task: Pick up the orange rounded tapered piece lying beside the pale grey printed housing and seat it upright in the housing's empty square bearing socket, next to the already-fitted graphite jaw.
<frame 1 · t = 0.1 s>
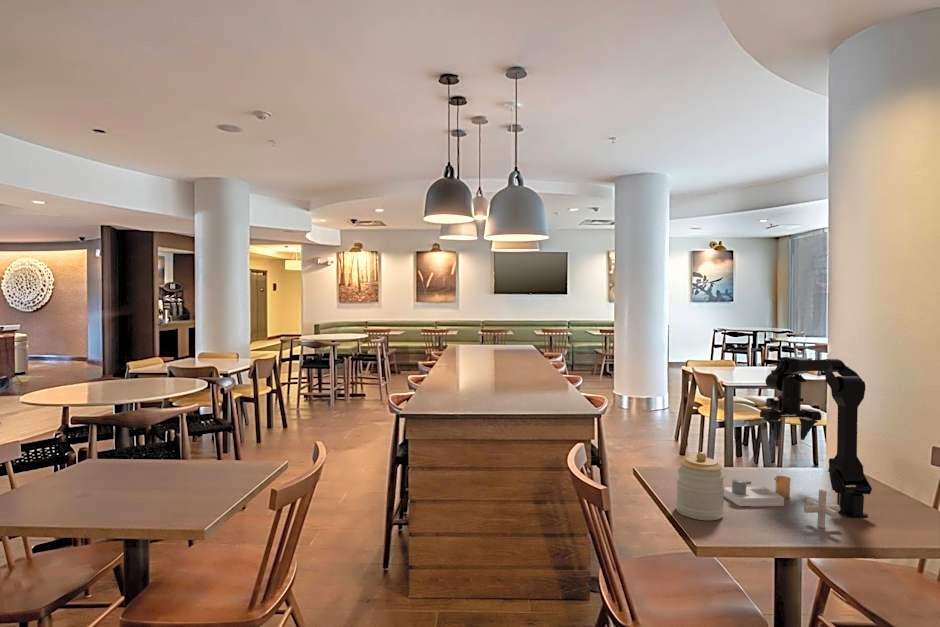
hand: (789, 439, 203), 15 cm above the table, fingers open, 9 cm apart
jar: (699, 513, 173), on the table
pipe connector: (821, 527, 165), on the table
orange rounded tapered piece: (782, 496, 189), on the table
housing: (752, 500, 185), on the table
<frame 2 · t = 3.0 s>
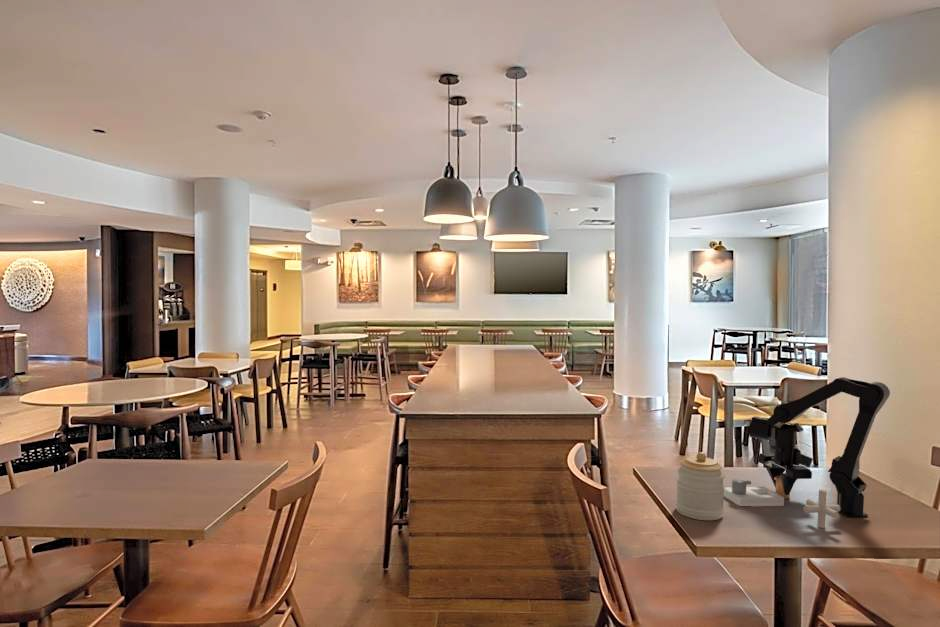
hand: (782, 492, 189), 1 cm above the table, fingers closed on orange rounded tapered piece, 4 cm apart
orange rounded tapered piece: (782, 496, 189), on the table, touching gripper
everything else where it was.
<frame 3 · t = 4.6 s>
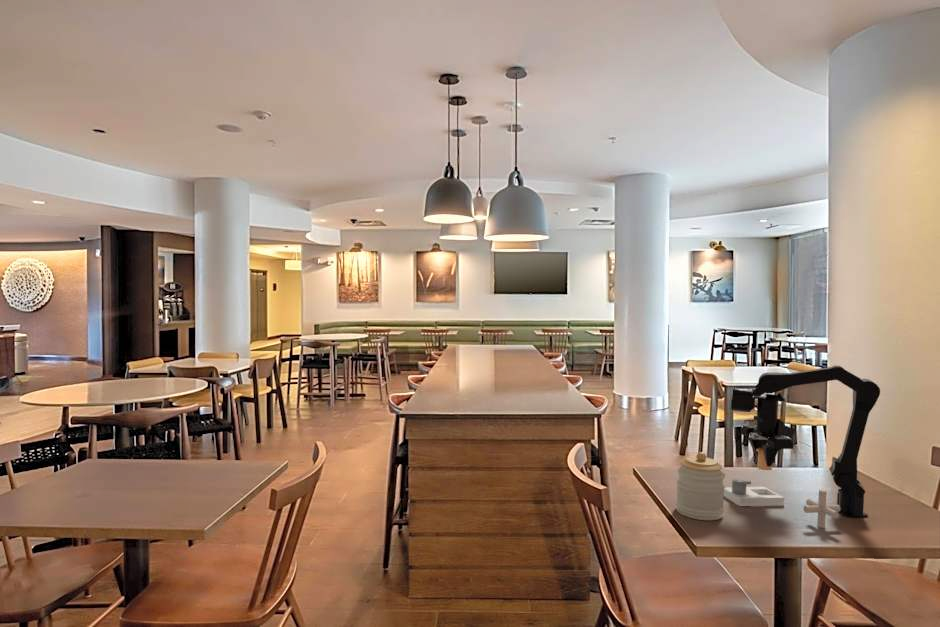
hand: (764, 464, 185), 11 cm above the table, fingers closed on orange rounded tapered piece, 4 cm apart
orange rounded tapered piece: (764, 468, 185), point 10 cm above the table, touching gripper
everything else where it was.
when the fingers open (4 cm above the table, at t = 6.6 s): orange rounded tapered piece drops 2 cm, resting on housing.
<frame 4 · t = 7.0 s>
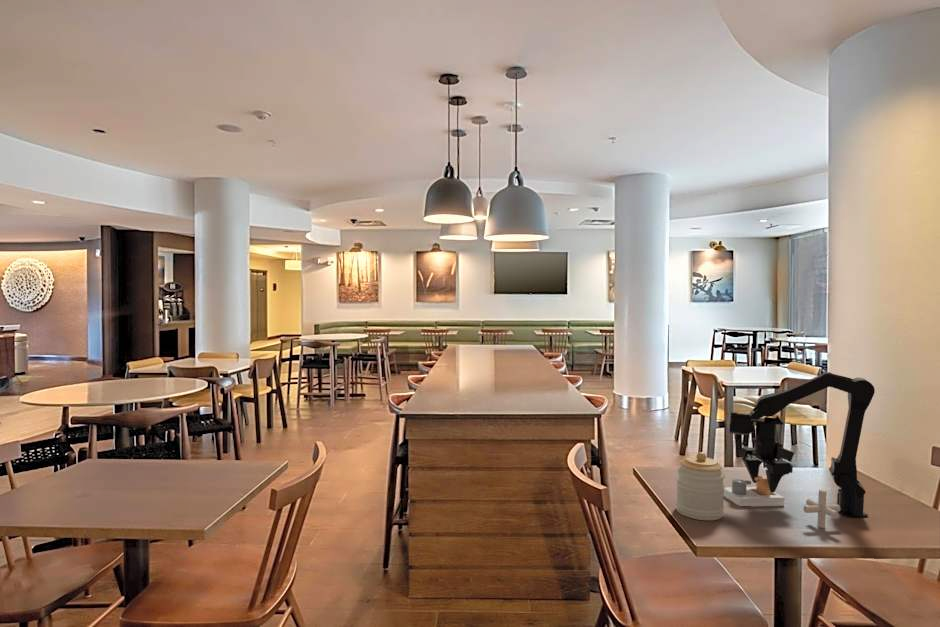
hand: (763, 487, 185), 4 cm above the table, fingers open, 9 cm apart
orange rounded tapered piece: (763, 496, 185), point 1 cm above the table, touching housing
everything else where it was.
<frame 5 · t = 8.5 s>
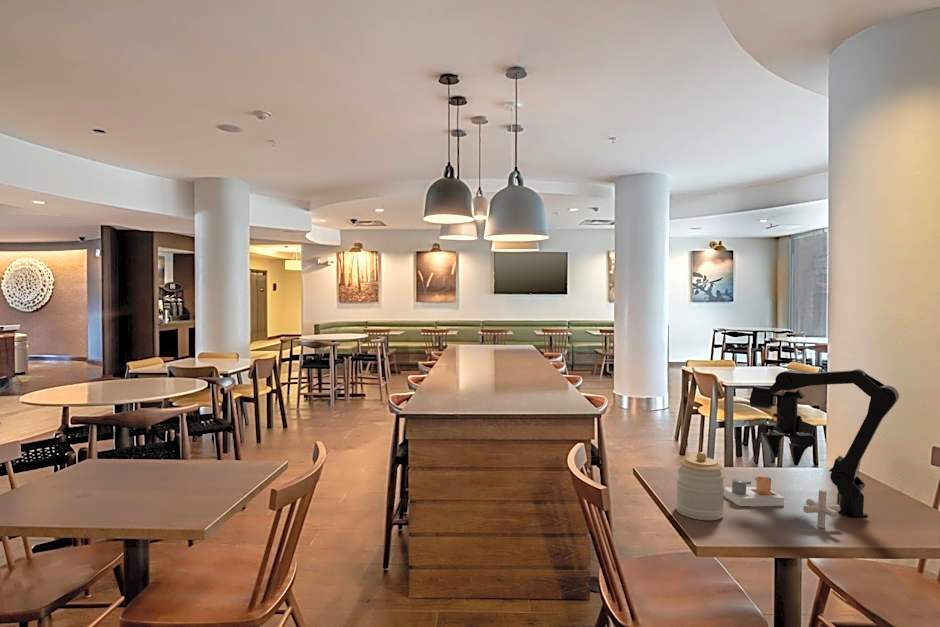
hand: (785, 461, 187), 12 cm above the table, fingers open, 9 cm apart
nothing on the table moved.
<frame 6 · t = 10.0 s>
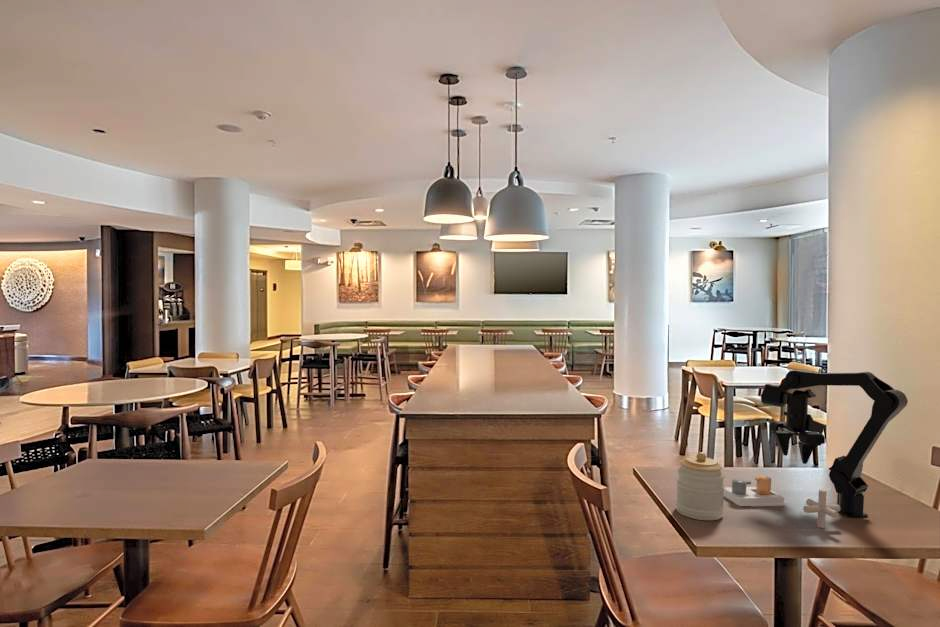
hand: (794, 459, 188), 12 cm above the table, fingers open, 9 cm apart
nothing on the table moved.
at the end: orange rounded tapered piece 0.0 cm from the target spot on the housing, point 1.0 cm above the housing's base; orange rounded tapered piece tilted 0°; the gripper is holding nothing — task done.
